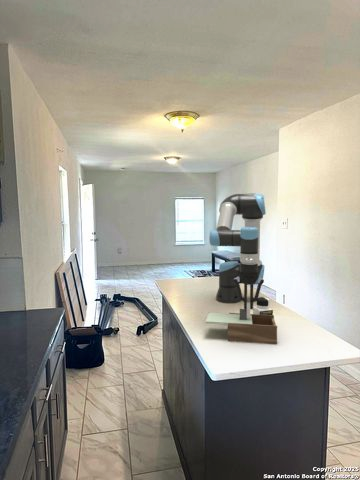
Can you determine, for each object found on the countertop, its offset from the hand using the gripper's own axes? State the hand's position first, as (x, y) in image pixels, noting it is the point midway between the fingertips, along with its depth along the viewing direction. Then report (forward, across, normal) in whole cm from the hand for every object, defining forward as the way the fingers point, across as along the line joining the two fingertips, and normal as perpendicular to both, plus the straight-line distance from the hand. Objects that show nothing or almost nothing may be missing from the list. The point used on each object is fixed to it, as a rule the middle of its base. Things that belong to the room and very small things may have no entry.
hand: (248, 316), depth 141 cm
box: (+9, +1, 0) cm, 9 cm away
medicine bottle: (+9, +7, +19) cm, 22 cm away
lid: (+2, -8, 0) cm, 8 cm away
